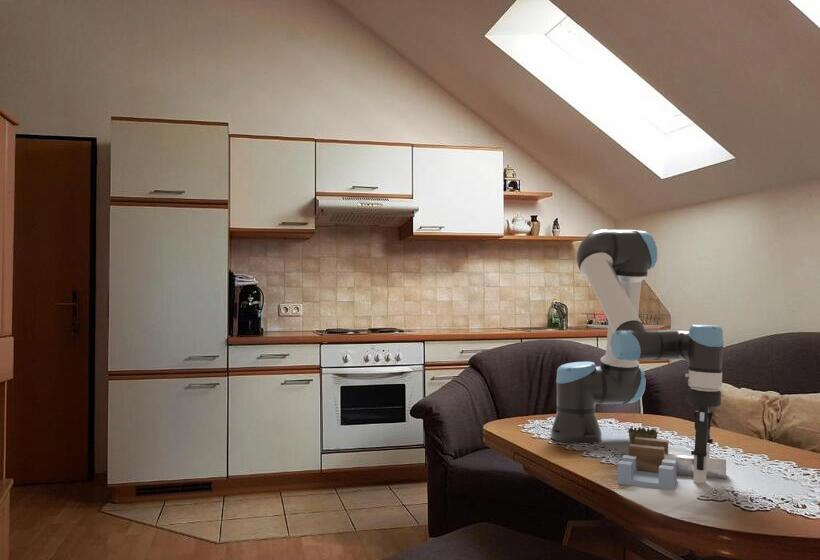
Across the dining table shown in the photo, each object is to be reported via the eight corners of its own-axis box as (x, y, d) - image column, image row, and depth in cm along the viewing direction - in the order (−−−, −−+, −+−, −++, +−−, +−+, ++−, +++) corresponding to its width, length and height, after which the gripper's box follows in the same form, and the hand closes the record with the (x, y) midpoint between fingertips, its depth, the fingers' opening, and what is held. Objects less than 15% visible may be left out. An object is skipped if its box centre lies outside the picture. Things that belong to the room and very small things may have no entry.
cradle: (623, 475, 162) (623, 454, 162) (676, 481, 156) (676, 460, 156) (617, 484, 154) (617, 463, 154) (672, 492, 148) (672, 469, 148)
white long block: (656, 467, 167) (655, 449, 166) (725, 475, 160) (725, 456, 160) (654, 476, 163) (653, 457, 162) (726, 484, 156) (726, 465, 155)
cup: (660, 463, 172) (659, 433, 173) (630, 462, 174) (630, 432, 174) (655, 456, 180) (655, 427, 180) (627, 455, 181) (626, 426, 181)
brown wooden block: (635, 463, 172) (635, 436, 173) (668, 467, 169) (668, 440, 169) (629, 474, 162) (628, 446, 162) (663, 478, 159) (663, 449, 159)
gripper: (691, 381, 173) (688, 461, 173) (683, 393, 151) (680, 486, 150) (722, 383, 169) (720, 466, 169) (719, 397, 147) (716, 492, 147)
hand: (701, 476), depth 160 cm, fingers open, 13 cm apart
